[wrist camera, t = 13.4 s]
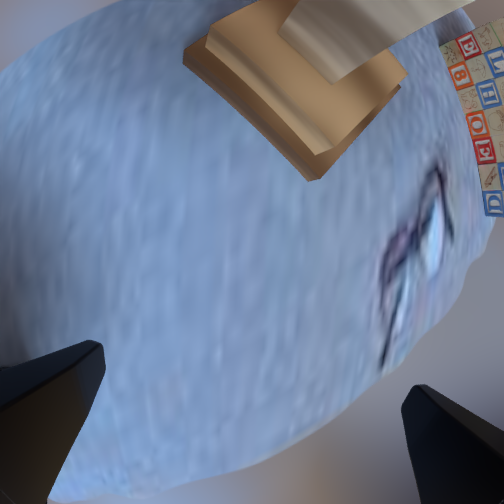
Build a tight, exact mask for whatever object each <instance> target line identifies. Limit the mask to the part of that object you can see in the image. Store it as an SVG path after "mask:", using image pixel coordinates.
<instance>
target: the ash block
mask: <svg viewBox="0 0 504 504" xmlns="http://www.w3.org/2000/svg"><path fill="white" fill-rule="evenodd" d="M473 1H475V0H300V1H299V2H298V3H297V5H296V6H295V8H294V9H293V10H292V12H291V13H290V15H289V16H288V18H287V19H286V21H285V22H284V24H283V25H282V27H281V28H280V30H279V31H278V34H279V35H280V36H281V37H282V38H283V39H285V40H286V41H287V42H288V43H289V44H290V45H291V46H292V47H293V48H294V49H296V50H297V51H298V52H299V53H300V54H301V55H302V56H303V57H304V58H305V59H306V60H307V61H308V62H309V63H310V64H311V65H312V66H313V67H314V68H315V69H316V70H317V71H318V72H319V73H320V74H321V75H322V76H323V77H324V78H325V79H326V80H327V81H328V82H329V83H330V84H331V85H333V84H334V83H335V82H337V81H338V80H340V79H341V78H343V77H344V76H346V75H347V74H348V73H350V72H351V71H353V70H354V69H356V68H357V67H359V66H360V65H362V64H363V63H365V62H366V61H368V60H369V59H371V58H372V57H374V56H376V55H377V54H379V53H380V52H382V51H383V50H385V49H387V48H388V47H390V46H392V45H393V44H395V43H396V42H398V41H400V40H401V39H403V38H405V37H407V36H408V35H410V34H412V33H413V32H415V31H417V30H419V29H420V28H422V27H424V26H426V25H428V24H429V23H431V22H433V21H435V20H437V19H439V18H441V17H443V16H445V15H446V14H448V13H450V12H452V11H454V10H456V9H458V8H460V7H462V6H465V5H467V4H469V3H471V2H473Z"/></svg>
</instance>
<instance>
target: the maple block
mask: <svg viewBox="0 0 504 504" xmlns="http://www.w3.org/2000/svg"><path fill="white" fill-rule="evenodd" d="M299 1H300V0H259V1H256V2H254V3H252V4H250V5H248V6H246V7H244V8H242V9H240V10H238V11H236V12H234V13H232V14H230V15H228V16H226V17H224V18H222V19H220V20H219V21H217V22H215V23H213V24H211V25H210V28H209V32H208V37H207V41H206V45H205V47H206V48H207V49H208V50H209V51H210V52H212V53H213V54H214V55H215V56H216V57H217V58H219V59H220V60H221V61H222V62H223V63H224V64H225V65H227V66H228V67H229V68H230V69H231V70H232V71H233V72H234V73H235V74H237V75H238V76H239V77H240V78H241V79H242V80H243V81H244V82H245V83H246V84H247V85H248V86H249V87H251V88H252V89H253V90H254V91H255V92H256V93H257V94H258V95H259V96H260V97H261V98H262V99H263V100H264V101H265V102H266V103H267V104H268V105H269V106H270V107H271V108H272V109H273V110H274V111H275V112H276V113H277V114H278V115H279V116H280V117H281V118H282V119H283V121H284V122H285V123H286V124H287V125H288V126H289V127H290V128H291V129H292V130H293V131H294V132H295V133H296V134H297V135H298V137H299V138H300V139H301V140H302V141H303V142H304V143H305V144H306V145H307V147H308V148H309V149H310V150H311V151H312V152H313V153H314V155H317V154H319V153H322V152H324V151H327V150H329V149H332V148H334V147H336V146H337V145H338V144H339V143H340V142H341V141H342V140H343V139H344V138H345V137H346V136H347V135H348V134H349V133H350V132H351V131H352V130H353V129H354V128H355V127H356V126H357V125H358V124H359V123H360V122H361V121H362V120H363V119H364V118H365V117H366V116H367V115H368V114H369V113H370V111H371V110H372V109H373V108H375V107H376V106H377V105H378V104H379V103H380V102H381V101H382V100H383V99H384V98H385V97H386V96H387V95H388V94H389V93H390V92H391V91H392V90H393V89H394V88H395V87H396V86H397V85H398V84H399V83H400V82H401V81H402V80H403V79H404V78H405V77H406V76H407V75H408V73H407V71H406V70H405V69H404V68H403V66H402V65H401V64H400V63H399V61H398V60H397V59H396V58H395V57H394V55H393V54H392V53H391V52H390V51H389V49H388V48H387V49H385V50H383V51H382V52H380V53H379V54H377V55H376V56H374V57H372V58H371V59H369V60H368V61H366V62H365V63H363V64H362V65H360V66H359V67H357V68H356V69H354V70H353V71H351V72H350V73H348V74H347V75H346V76H344V77H343V78H341V79H340V80H338V81H337V82H335V83H334V84H333V85H331V84H330V83H329V82H328V81H327V80H326V79H325V78H324V77H323V76H322V75H321V74H320V73H319V72H318V71H317V70H316V69H315V68H314V67H313V66H312V65H311V64H310V63H309V62H308V61H307V60H306V59H305V58H304V57H303V56H302V55H301V54H300V53H299V52H298V51H297V50H296V49H294V48H293V47H292V46H291V45H290V44H289V43H288V42H287V41H286V40H285V39H283V38H282V37H281V36H280V35H279V34H278V31H279V30H280V28H281V27H282V25H283V24H284V22H285V21H286V19H287V18H288V16H289V15H290V13H291V12H292V10H293V9H294V8H295V6H296V5H297V3H298V2H299Z"/></svg>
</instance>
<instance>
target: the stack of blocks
mask: <svg viewBox="0 0 504 504" xmlns="http://www.w3.org/2000/svg"><path fill="white" fill-rule="evenodd" d="M439 49H440V51H441V53H442V55H443V58H444V60H445V62H446V65H447V67H448V70H449V73H450V75H451V78H452V80H453V83H454V86H455V88H456V91H457V94H458V97H459V100H460V103H461V106H462V109H463V112H464V114H465V117H466V120H467V123H468V127H469V131H470V134H471V138H472V141H473V145H474V150H475V154H476V158H477V163H478V169H479V174H480V179H481V185H482V191H483V199H484V206H485V215H486V216H490V217H504V17H503V18H500V19H498V20H496V21H493V22H491V23H490V22H489V23H487V24H485V25H482V26H481V27H478V28H476V29H474V30H473V31H470V32H468V33H466V34H464V35H462V36H460V37H458V38H456V39H453V40H451V41H449V42H447V43H445V44H443V45H441V46H439Z"/></svg>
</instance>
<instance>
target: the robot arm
mask: <svg viewBox="0 0 504 504" xmlns="http://www.w3.org/2000/svg"><path fill="white" fill-rule="evenodd" d="M105 370H106V365H105V357H104V349H103V345H102V344H101V343H99V342H96V341H93V340H86V341H83V342H81V343H78V344H75V345H72V346H70V347H67V348H64V349H61V350H59V351H56V352H53V353H50V354H48V355H45V356H42V357H39V358H36V359H34V360H31V361H28V362H25V363H22V364H19V365H16V366H14V367H4V368H0V504H47V498H48V496H49V494H50V491H51V489H52V487H53V485H54V483H55V481H56V478H57V476H58V474H59V472H60V470H61V468H62V466H63V464H64V462H65V460H66V458H67V456H68V453H69V451H70V449H71V447H72V446H73V444H74V442H75V440H76V438H77V436H78V434H79V432H80V430H81V428H82V426H83V424H84V422H85V420H86V418H87V416H88V414H89V412H90V409H91V407H92V404H93V402H94V399H95V396H96V394H97V391H98V389H99V387H100V384H101V382H102V379H103V377H104V374H105ZM401 413H402V418H403V424H404V429H405V435H406V441H407V447H408V452H409V455H410V460H411V463H412V467H413V471H414V475H415V479H416V484H417V487H418V492H419V497H420V502H421V504H504V431H502V430H501V429H499V428H497V427H495V426H494V425H492V424H490V423H489V422H487V421H485V420H484V419H482V418H480V417H479V416H477V415H475V414H473V413H472V412H470V411H469V410H467V409H465V408H464V407H462V406H460V405H459V404H457V403H455V402H454V401H452V400H450V399H449V398H447V397H445V396H444V395H442V394H440V393H439V392H437V391H435V390H434V389H432V388H430V387H429V386H428V385H425V384H420V385H414V386H413V387H412V388H411V390H410V392H409V393H408V395H407V397H406V399H405V400H404V402H403V404H402V407H401Z"/></svg>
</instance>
